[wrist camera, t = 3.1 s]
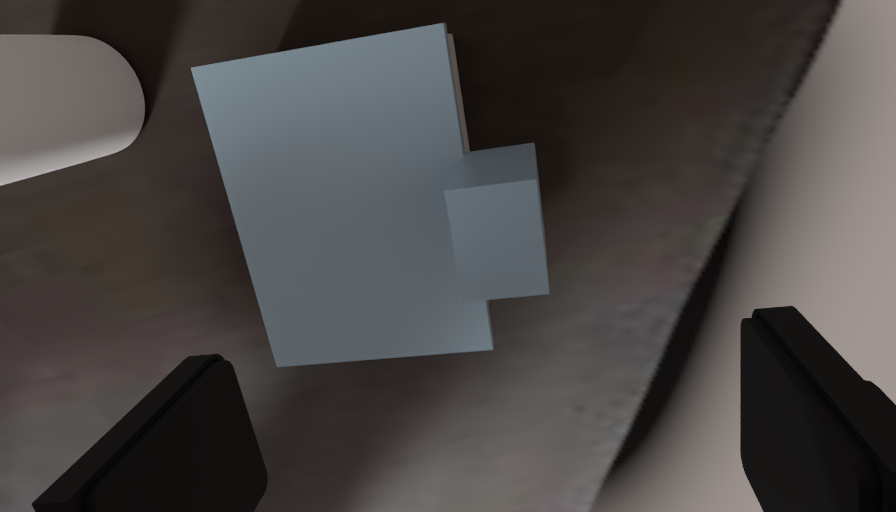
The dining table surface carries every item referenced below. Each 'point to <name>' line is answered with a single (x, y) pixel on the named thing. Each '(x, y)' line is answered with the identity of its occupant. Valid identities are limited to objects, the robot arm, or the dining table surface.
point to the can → (63, 103)
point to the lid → (370, 199)
